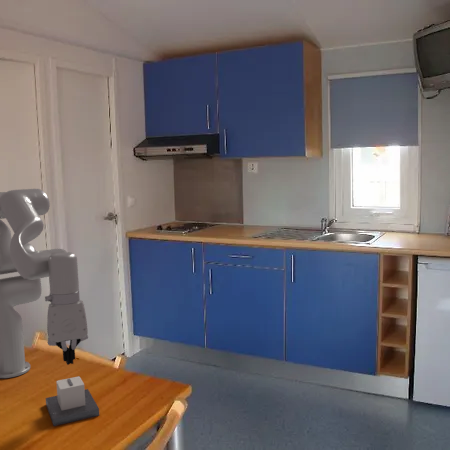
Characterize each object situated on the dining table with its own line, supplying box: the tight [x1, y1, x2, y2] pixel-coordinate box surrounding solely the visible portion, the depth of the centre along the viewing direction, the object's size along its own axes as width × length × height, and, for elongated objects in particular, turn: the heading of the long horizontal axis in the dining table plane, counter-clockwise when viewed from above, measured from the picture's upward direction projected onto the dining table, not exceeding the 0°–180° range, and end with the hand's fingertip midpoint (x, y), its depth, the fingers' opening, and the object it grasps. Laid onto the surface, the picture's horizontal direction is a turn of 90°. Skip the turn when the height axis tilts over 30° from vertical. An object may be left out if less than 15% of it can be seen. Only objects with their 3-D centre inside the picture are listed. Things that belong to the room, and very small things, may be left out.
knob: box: [56, 376, 86, 410], centre depth 146 cm, size 6×6×6 cm
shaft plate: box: [45, 388, 100, 427], centre depth 146 cm, size 14×12×6 cm
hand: (69, 362), depth 144 cm, fingers closed
